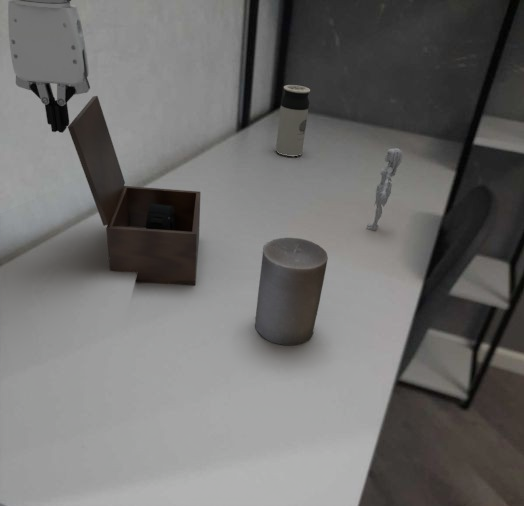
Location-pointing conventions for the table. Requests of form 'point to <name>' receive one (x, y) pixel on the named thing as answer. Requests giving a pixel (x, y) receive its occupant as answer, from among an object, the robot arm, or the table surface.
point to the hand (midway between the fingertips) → (59, 129)
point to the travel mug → (292, 120)
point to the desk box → (155, 236)
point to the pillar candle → (289, 290)
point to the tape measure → (160, 217)
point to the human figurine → (386, 183)
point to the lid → (97, 158)
